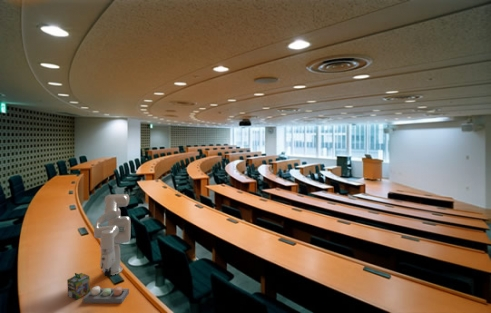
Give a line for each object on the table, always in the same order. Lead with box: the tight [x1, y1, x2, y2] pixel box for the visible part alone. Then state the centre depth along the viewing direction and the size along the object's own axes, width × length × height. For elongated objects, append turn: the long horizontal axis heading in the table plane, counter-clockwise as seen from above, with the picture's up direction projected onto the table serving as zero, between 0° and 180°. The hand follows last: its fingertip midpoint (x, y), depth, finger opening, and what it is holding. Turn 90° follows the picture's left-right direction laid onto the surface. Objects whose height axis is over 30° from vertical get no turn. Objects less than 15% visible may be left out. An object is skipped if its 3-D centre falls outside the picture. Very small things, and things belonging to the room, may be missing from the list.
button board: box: [82, 287, 130, 304], centre depth 156 cm, size 24×10×3 cm, turn 92°
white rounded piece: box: [90, 285, 101, 296], centre depth 155 cm, size 5×5×4 cm
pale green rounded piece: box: [103, 287, 112, 297], centre depth 156 cm, size 5×5×4 cm
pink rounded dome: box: [113, 285, 123, 297], centre depth 156 cm, size 5×5×4 cm
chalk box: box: [67, 272, 91, 301], centre depth 158 cm, size 9×9×15 cm
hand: (107, 275), depth 157 cm, fingers closed
